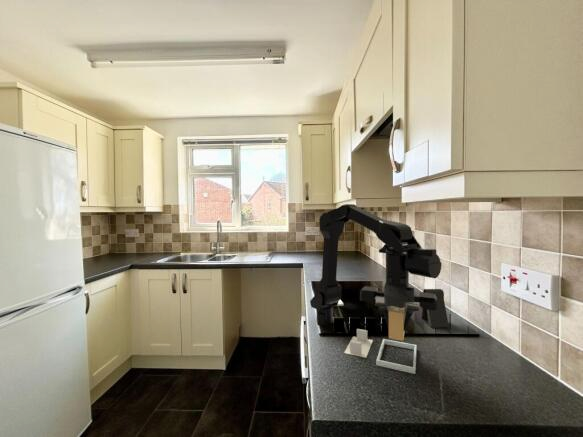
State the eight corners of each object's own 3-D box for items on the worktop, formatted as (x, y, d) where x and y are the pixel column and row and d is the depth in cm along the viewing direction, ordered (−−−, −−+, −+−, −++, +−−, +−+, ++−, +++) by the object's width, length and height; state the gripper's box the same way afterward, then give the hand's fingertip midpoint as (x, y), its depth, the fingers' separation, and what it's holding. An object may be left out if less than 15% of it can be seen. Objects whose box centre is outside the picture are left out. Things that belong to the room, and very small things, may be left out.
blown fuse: (391, 327, 76) (391, 300, 76) (404, 330, 75) (404, 302, 75) (388, 338, 70) (388, 308, 70) (403, 340, 69) (403, 310, 68)
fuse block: (353, 338, 85) (353, 326, 85) (372, 342, 82) (372, 330, 82) (343, 355, 75) (343, 341, 75) (366, 360, 72) (366, 346, 72)
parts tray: (383, 345, 80) (383, 338, 80) (416, 352, 76) (416, 345, 76) (376, 368, 69) (376, 360, 69) (415, 377, 65) (415, 368, 65)
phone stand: (419, 318, 101) (419, 286, 101) (435, 318, 101) (435, 286, 101) (431, 328, 92) (431, 293, 92) (448, 328, 92) (448, 293, 92)
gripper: (355, 274, 69) (355, 334, 69) (438, 281, 61) (438, 350, 61) (363, 266, 79) (363, 319, 79) (436, 271, 71) (436, 331, 71)
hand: (397, 329), depth 72 cm, fingers closed on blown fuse, 3 cm apart
